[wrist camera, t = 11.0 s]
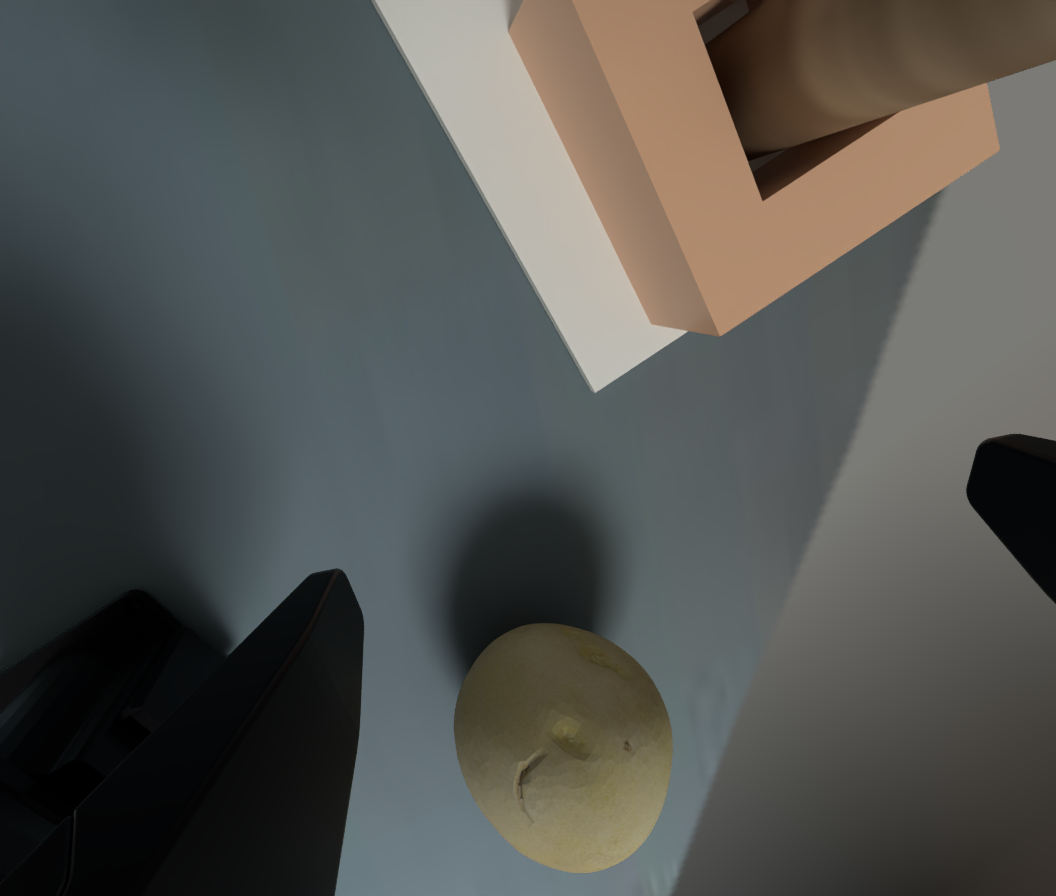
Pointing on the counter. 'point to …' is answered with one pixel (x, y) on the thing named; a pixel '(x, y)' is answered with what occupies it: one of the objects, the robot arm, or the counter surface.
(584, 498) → the counter surface
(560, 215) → the collar plate
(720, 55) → the walnut peg
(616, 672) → the potato
